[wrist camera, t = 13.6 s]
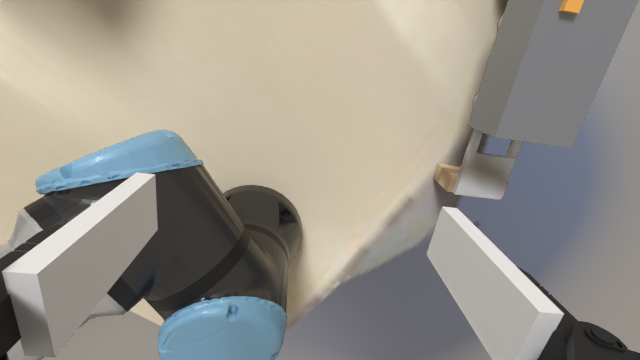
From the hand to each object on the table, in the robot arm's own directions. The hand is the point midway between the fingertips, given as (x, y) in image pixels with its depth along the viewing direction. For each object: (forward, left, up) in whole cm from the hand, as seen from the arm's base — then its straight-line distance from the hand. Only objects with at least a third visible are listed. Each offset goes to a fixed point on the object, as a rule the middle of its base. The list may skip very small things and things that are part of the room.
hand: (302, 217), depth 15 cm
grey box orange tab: (+10, -26, -32) cm, 42 cm away
